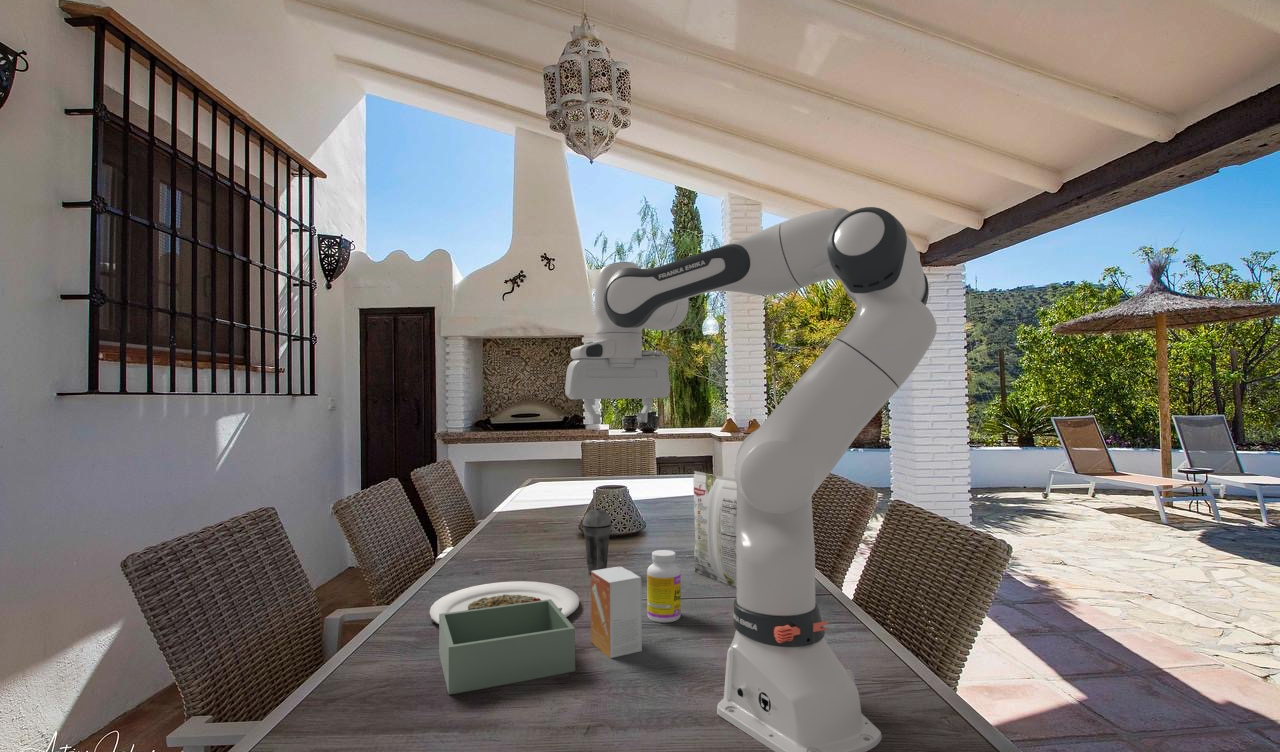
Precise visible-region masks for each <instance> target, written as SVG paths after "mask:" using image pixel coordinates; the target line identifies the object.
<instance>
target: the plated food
mask: <svg viewBox="0 0 1280 752" xmlns="http://www.w3.org/2000/svg"><path fill="white" fill-rule="evenodd" d="M548 599H551V600H552V601H553V602H554V604H555V605H556V606H557V607H558V608H559V609H561V610H560V611H561V612H562V613H563V614H564V616H565V617H566V618H567V617H569V616H570V615H572V614H573V613H574V612H575V611H576V610H577V609H578V607H579V604H580V598H579V596H578V595H577V594H576V593H575V592H574V590H571V589H569V588H567V587H565V586H561V585H558V584H553V583H549V582H548V583H547V582H541V581H540V582H539V581H528V580H527V581H526V580H525V581H523V580H520V581H517V580H515V581H501V582H500V581H499V582H492V583H484V584H480V585H473V586H469V587H466V588H463V589H459V590H455V591H453V592H449V593H448V594H446V595H443V596H442V597H440V598H439V599H437V600H436V601H435V602H433V604H432V605H431V606H430V609H429V616H430V618H431V619H432V620H433V621H434V622H435V624H438V625H439V614H442V613H450V612H457V611H465V610H473V609H480V608H488V607H495V606H503V605H510V604H518V603H526V602H533V601H541V600H548Z"/></svg>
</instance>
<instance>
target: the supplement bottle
mask: <svg viewBox="0 0 1280 752" xmlns="http://www.w3.org/2000/svg"><path fill="white" fill-rule="evenodd" d="M651 560H652V563H651V564H650V565H649V566H648V568H647V570H646V571H647V572H646V583H647V584H646V587H647V588H646V591H647V593H646V596H647V598H646V600H647V603H646V605H647V606H646V613H647V618H648V619H649V620H650V621H652V622H656V623H662V624H663V623H665V624H666V623H672V622H676V621H678V620H680V618H681V616H682V615H681V614H682V613H681V611H682V609H681V608H682V603H681V602H682V601H681V599H682V598H681V590H682V589H681V588H682V587H681V582H682V581H681V575H682V574H681V568H680V567H679V566H678V564H676V563H675V561H676V552H675V551H673V550H670V549H669V550H668V549H658V550H654V551H652V553H651Z"/></svg>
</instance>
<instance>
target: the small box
mask: <svg viewBox="0 0 1280 752" xmlns="http://www.w3.org/2000/svg"><path fill="white" fill-rule="evenodd" d="M642 599H643V598H642V577H641V576H640V575H638V574H636V573H634V572H633V571H632V570H629V569H626V568H625V567H623V566H613V567H607V568H606V569H600V570H594V571H591V573H590V643H591V644H592V645H594V646H595V647H596V648H597V649H599V650H600V651H601V652H602V653H603V654H604V655H606V657H608V658H609V659H613V658H617V657H621V656H626V655H630V654H634V653H638V652H639V653H640V652H642V651H643V641H642V639H643V635H642V633H643V631H642V630H643V629H642V628H643V626H642V625H643V624H642V623H643V621H642V620H643V619H642V617H643V615H642V614H643V613H642V612H643V611H642V610H643V609H642V601H643V600H642Z"/></svg>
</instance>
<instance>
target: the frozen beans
mask: <svg viewBox="0 0 1280 752" xmlns="http://www.w3.org/2000/svg"><path fill="white" fill-rule="evenodd" d="M693 472H694V474H693V479H692V480H693V481H692V482H693V511H694V513H693V514H694V535H695V537H694V538H695V539H694V554H693V555H694V556H693V557H694V558H693V559H694V560H693V561H694V562H693V563H694V572H695V573H696V574H700V575H702V576H705V577H708V578H710V579H713V580H715V581H719V582H721V583H724V584H727V585H730V586H732V587H734V588H737V582H736V528H737V484H736V480H735V477H727V476H720V475H716V474H711V473H706V472H702V471H696V470H694V471H693Z"/></svg>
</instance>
